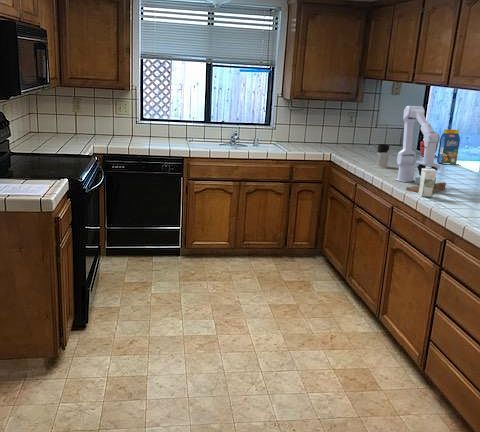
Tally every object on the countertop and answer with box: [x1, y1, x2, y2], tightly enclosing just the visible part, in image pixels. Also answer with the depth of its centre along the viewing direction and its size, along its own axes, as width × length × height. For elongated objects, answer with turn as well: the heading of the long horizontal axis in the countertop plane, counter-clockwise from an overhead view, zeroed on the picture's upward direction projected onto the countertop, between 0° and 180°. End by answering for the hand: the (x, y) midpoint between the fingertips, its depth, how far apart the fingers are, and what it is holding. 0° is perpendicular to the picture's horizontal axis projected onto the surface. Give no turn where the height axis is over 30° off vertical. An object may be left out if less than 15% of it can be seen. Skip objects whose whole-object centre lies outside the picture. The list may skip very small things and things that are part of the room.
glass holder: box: [367, 143, 390, 169], centre depth 352 cm, size 9×14×15 cm, turn 78°
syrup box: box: [417, 167, 437, 198], centre depth 270 cm, size 6×6×14 cm
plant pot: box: [419, 140, 439, 157], centre depth 408 cm, size 13×13×12 cm
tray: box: [414, 175, 437, 186], centre depth 286 cm, size 12×5×5 cm, turn 127°
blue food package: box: [436, 128, 461, 165], centre depth 376 cm, size 6×12×25 cm, turn 101°
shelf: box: [405, 181, 447, 194], centre depth 287 cm, size 22×10×4 cm, turn 127°
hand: (425, 179), depth 286 cm, fingers closed on tray, 5 cm apart
